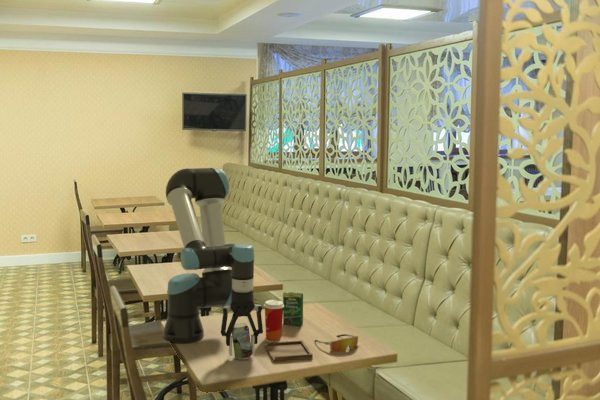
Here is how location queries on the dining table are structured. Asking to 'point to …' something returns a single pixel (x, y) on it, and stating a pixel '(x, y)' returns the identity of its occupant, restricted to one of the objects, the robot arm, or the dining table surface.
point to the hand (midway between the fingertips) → (241, 353)
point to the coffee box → (293, 308)
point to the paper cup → (273, 319)
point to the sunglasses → (342, 343)
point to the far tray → (288, 351)
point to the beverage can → (241, 341)
